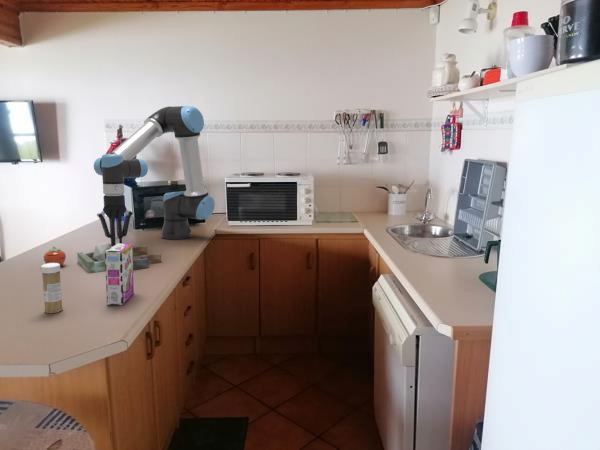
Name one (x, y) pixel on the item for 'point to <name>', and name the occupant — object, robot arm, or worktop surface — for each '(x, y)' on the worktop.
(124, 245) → the candy bar box
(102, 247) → the die
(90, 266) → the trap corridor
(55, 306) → the sprinkles bottle
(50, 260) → the tomato
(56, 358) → the worktop surface
